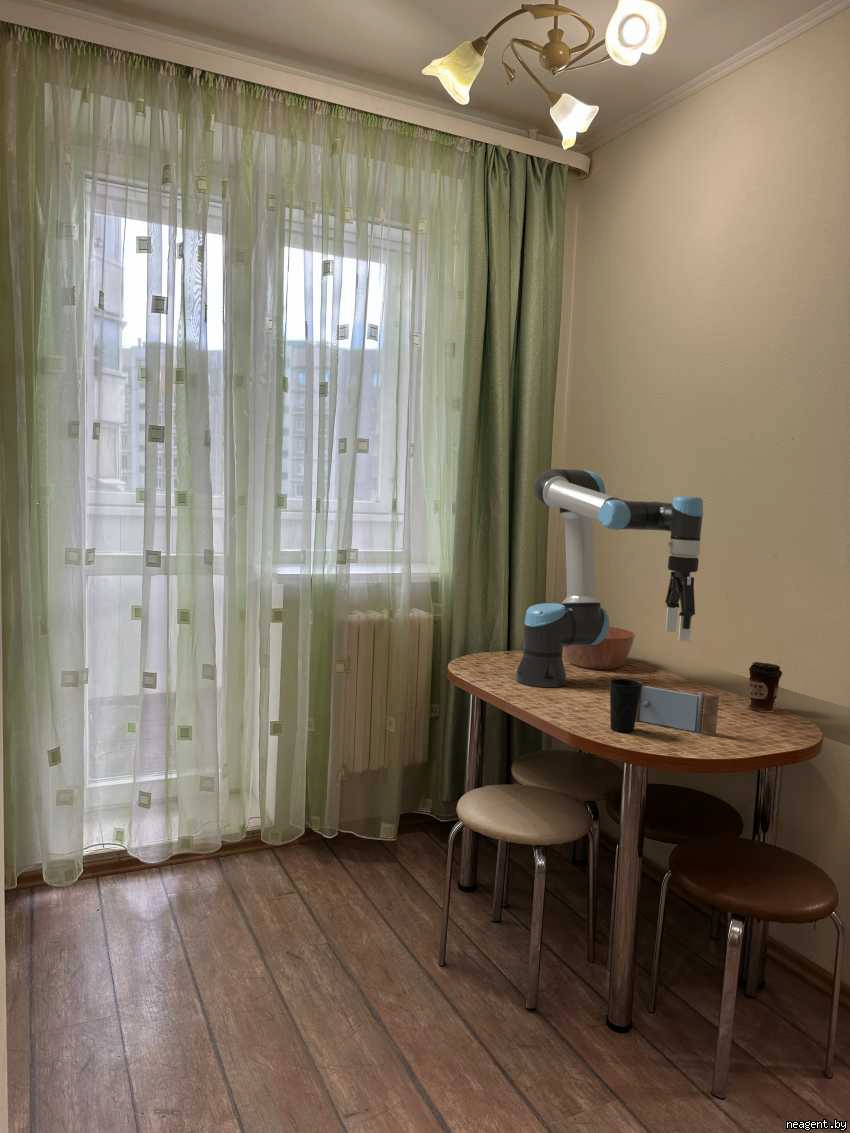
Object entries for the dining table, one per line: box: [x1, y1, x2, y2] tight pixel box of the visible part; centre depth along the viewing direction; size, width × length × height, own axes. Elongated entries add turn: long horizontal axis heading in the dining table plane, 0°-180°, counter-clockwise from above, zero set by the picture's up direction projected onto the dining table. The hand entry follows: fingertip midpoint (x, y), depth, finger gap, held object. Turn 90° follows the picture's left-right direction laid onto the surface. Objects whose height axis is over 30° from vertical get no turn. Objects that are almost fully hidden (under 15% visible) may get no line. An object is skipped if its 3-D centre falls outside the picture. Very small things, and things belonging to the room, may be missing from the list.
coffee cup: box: [748, 661, 783, 713], centre depth 239 cm, size 9×8×13 cm
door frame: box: [635, 680, 720, 737], centre depth 217 cm, size 22×2×10 cm, turn 59°
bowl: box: [562, 626, 636, 671], centre depth 288 cm, size 25×25×12 cm
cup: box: [609, 678, 643, 734], centre depth 212 cm, size 8×8×12 cm
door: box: [638, 685, 706, 734], centre depth 217 cm, size 16×2×10 cm, turn 59°
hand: (677, 636), depth 226 cm, fingers open, 13 cm apart
